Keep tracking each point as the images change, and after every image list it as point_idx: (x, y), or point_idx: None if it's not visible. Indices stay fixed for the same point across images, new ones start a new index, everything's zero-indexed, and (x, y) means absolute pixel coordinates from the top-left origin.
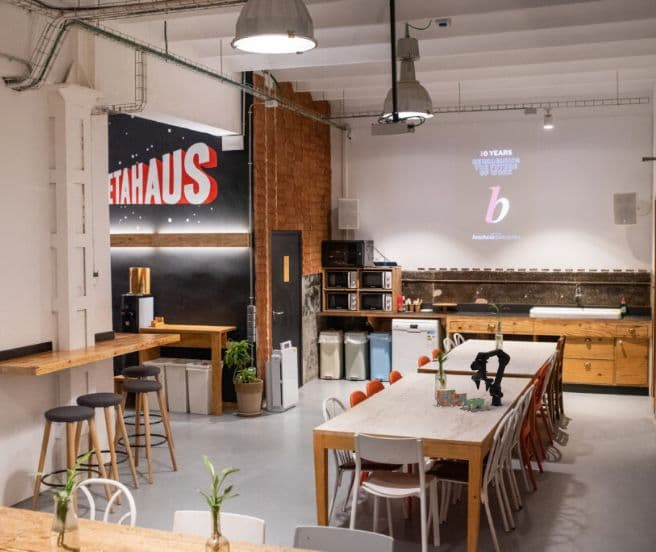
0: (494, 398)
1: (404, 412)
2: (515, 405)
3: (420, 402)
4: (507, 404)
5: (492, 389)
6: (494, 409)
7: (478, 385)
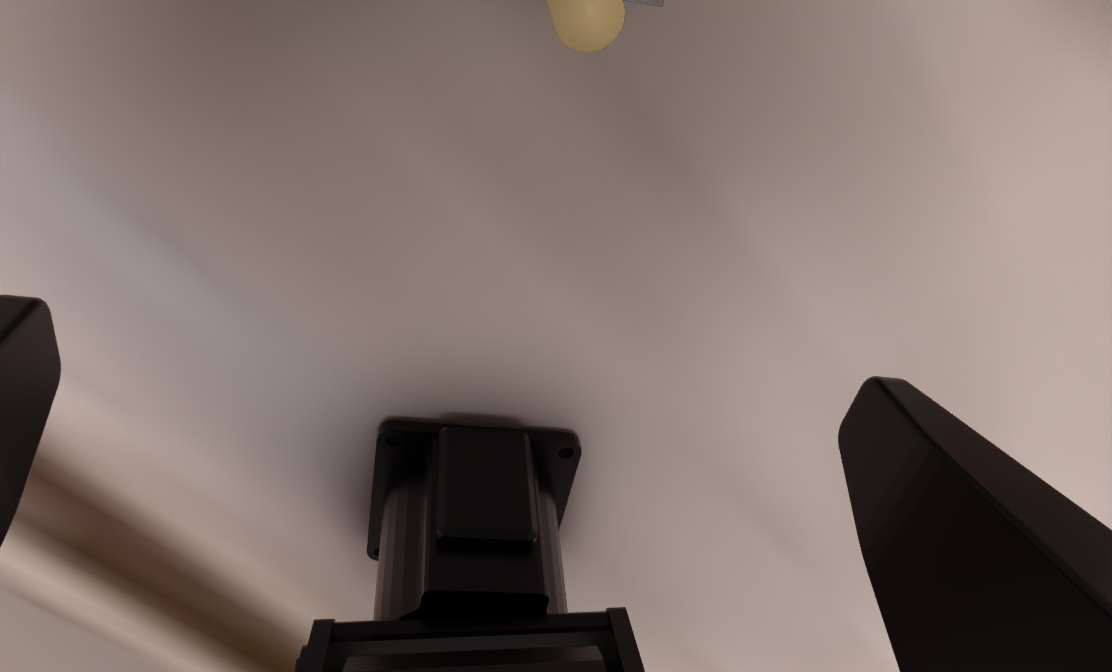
0: (450, 561)
1: None
2: (216, 656)
3: None
4: None
5: None
6: (17, 59)
7: (976, 656)
